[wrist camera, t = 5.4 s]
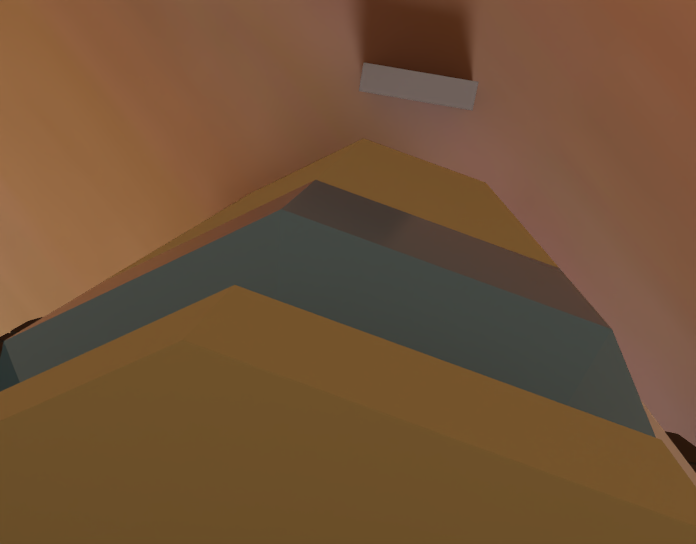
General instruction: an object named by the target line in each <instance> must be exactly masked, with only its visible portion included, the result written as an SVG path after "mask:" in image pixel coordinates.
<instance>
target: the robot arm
mask: <svg viewBox="0 0 696 544" xmlns="http://www.w3.org/2000/svg"><path fill="white" fill-rule="evenodd" d="M41 318H43V317H41ZM41 318H37V319H34V320H30V321H27V322H25V323H24V324H22V325H20V326H19V327H17V328H15V329H13V330H12V331H11V333H7V334H5V335H3V336H1V337H0V357H1V352H2V347H3V342H4V340H6V339H8V338H10V337H11V336H13V335H15V334H16V333H18V332H20V331H21V330H23V329H25V328H26V327H28V326H30V325H31V324H33V323H35V322H36V321H38V320H40V319H41ZM641 402H642V401H641ZM642 405H643V407H644V409H645V412H646V414H647V417H648V419H649V422H650V424H651V427H652V429H653V431H654V434H655V436H656V438H658V439H661V440H662V441H663V443H664V444H665V445H666V447H667V448H668V449H669V451H670V452H671V453H672V455H673V456H674V458H675V459H676V460H677V462H678V463H679V464H680V466H681V467H682V469H683V470H684V471H685V473H686V474H687V475H688V477H689V478H690V480H691V481H692V482H693V484H694V485H695V486H696V447H695V446H694V445H692V444H691V443H690V442H688V441H687V440H686V439H684V438H683V437H681V436H680V435H679V434H676V433H671V432H665V431H664V430H663V429H662V427H661V426H660V425H659V423H658V422H657V421H656V419H655V418H654V417H653V416H652V414H651V413H650V412H649V410H648V409H647V408H646V406H645V405H644V404H643V402H642Z"/></svg>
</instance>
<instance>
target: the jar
mask: <svg viewBox="0 0 696 544" xmlns="http://www.w3.org/2000/svg"><path fill="white" fill-rule="evenodd" d="M0 544H696V486H695V485H694V484H693V482H692V481H691V480H690V478H689V477H688V475H687V474H686V473H685V471H684V470H683V469H682V467H681V466H680V464H679V463H678V462H677V460H676V459H675V458H674V456H673V455H672V453H671V452H670V451H669V449H668V448H667V447H666V445H665V444H664V443H663V441H662V440H661V439H658V438H656V436H655V434H654V431H653V429H652V427H651V424H650V422H649V419H648V417H647V414H646V412H645V409H644V407H643V405H642V402H641V400H640V397H639V395H638V392H637V390H636V387H635V385H634V382H633V380H632V378H631V375H630V373H629V370H628V368H627V365H626V363H625V360H624V358H623V355H622V353H621V351H620V348H619V346H618V343H617V341H616V338H615V336H614V333H613V331H612V329H611V328H610V326H609V325H608V324H607V323H606V322H605V321H604V320H603V318H602V317H601V316H600V315H599V314H598V313H597V311H596V310H595V309H594V308H593V307H592V306H591V304H590V303H589V302H588V301H587V300H586V299H585V297H584V296H583V295H582V294H581V293H580V292H579V290H578V289H577V288H576V287H575V286H574V285H573V284H572V282H571V281H570V280H569V279H568V278H567V277H566V275H565V274H564V273H563V272H562V271H561V270H560V268H559V267H558V266H557V265H556V264H555V263H554V261H553V260H552V259H551V258H550V257H549V256H548V254H547V253H546V252H545V251H544V250H543V249H542V248H541V246H540V245H539V244H538V243H537V242H536V241H535V239H534V238H533V237H532V236H531V235H530V234H529V232H528V231H527V230H526V229H525V228H524V227H523V225H522V224H521V223H520V222H519V221H518V220H517V218H516V217H515V216H514V215H513V214H512V213H511V212H510V210H509V209H508V208H507V207H506V206H505V205H504V203H503V202H502V201H501V200H500V199H499V198H498V196H497V195H496V194H495V193H494V192H493V191H492V189H491V188H490V187H489V186H488V185H487V184H486V183H485V182H482V181H479V180H477V179H474V178H471V177H468V176H466V175H463V174H460V173H457V172H455V171H452V170H449V169H446V168H444V167H441V166H438V165H435V164H433V163H430V162H427V161H424V160H422V159H419V158H416V157H413V156H411V155H408V154H405V153H402V152H399V151H397V150H394V149H391V148H388V147H386V146H383V145H380V144H377V143H375V142H372V141H369V140H366V139H364V138H363V139H361V140H359V141H357V142H355V143H353V144H351V145H349V146H347V147H345V148H343V149H341V150H339V151H337V152H335V153H332V154H330V155H328V156H326V157H324V158H322V159H320V160H318V161H316V162H314V163H312V164H310V165H308V166H306V167H304V168H302V169H300V170H298V171H295V172H293V173H291V174H289V175H287V176H285V177H283V178H281V179H279V180H277V181H275V182H273V183H271V184H269V185H267V186H265V187H263V188H260V189H258V190H256V191H254V192H252V193H250V194H249V195H247V196H245V197H244V198H242V199H240V200H239V201H237V202H235V203H234V204H232V205H230V206H229V207H227V208H225V209H224V210H222V211H220V212H219V213H217V214H215V215H214V216H212V217H210V218H208V219H207V220H205V221H203V222H202V223H200V224H198V225H197V226H195V227H193V228H192V229H190V230H188V231H187V232H185V233H183V234H182V235H180V236H178V237H177V238H175V239H173V240H172V241H170V242H168V243H167V244H165V245H163V246H162V247H160V248H158V249H157V250H155V251H153V252H152V253H150V254H148V255H147V256H145V257H143V258H142V259H140V260H138V261H137V262H135V263H133V264H132V265H130V266H128V267H127V268H125V269H123V270H122V271H120V272H118V273H117V274H115V275H113V276H112V277H110V278H108V279H106V280H105V281H103V282H101V283H100V284H98V285H96V286H95V287H93V288H91V289H90V290H88V291H86V292H85V293H83V294H81V295H80V296H78V297H76V298H75V299H73V300H71V301H70V302H68V303H66V304H65V305H63V306H61V307H60V308H58V309H56V310H55V311H53V312H51V313H50V314H48V315H46V316H45V317H43V318H41V319H40V320H38V321H36V322H35V323H33V324H31V325H30V326H28V327H26V328H25V329H23V330H21V331H20V332H18V333H16V334H15V335H13V336H11V337H10V338H8V339H6V340H4V342H3V347H2V352H1V357H0Z"/></svg>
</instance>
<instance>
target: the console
mask: <svg viewBox="0 0 696 544" xmlns="http://www.w3.org/2000/svg"><path fill="white" fill-rule="evenodd" d="M477 86H478V82H476V81H470V80H464V79H458V78H453V77H447V76H441V75H435V74H429V73H423V72H417V71H411V70H405V69H399V68H394V67H388V66H382V65H376V64H370V63H363V69H362V75H361V81H360V88H359V91H362V92H368V93H374V94H380V95H386V96H391V97H397V98H403V99H409V100H415V101H420V102H426V103H432V104H438V105H444V106H450V107H455V108H461V109H467V110H473V105H474V101H475V96H476V91H477Z"/></svg>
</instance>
